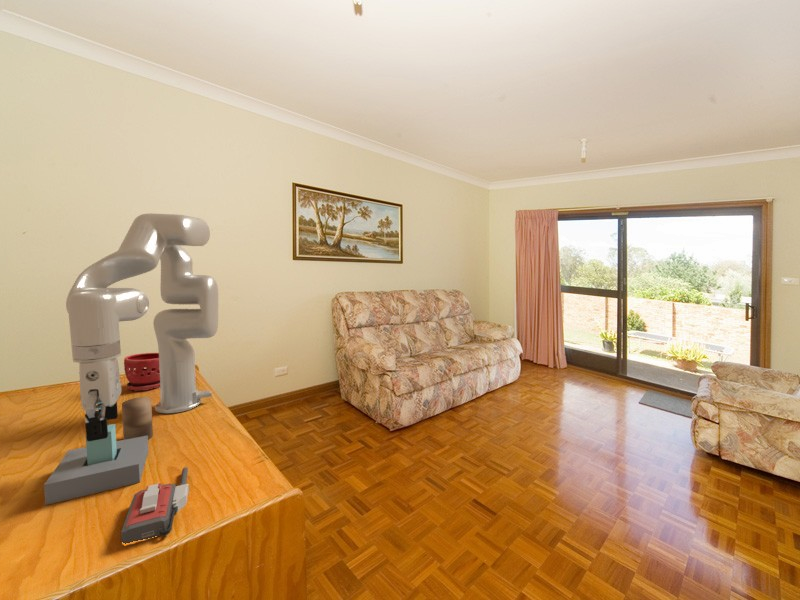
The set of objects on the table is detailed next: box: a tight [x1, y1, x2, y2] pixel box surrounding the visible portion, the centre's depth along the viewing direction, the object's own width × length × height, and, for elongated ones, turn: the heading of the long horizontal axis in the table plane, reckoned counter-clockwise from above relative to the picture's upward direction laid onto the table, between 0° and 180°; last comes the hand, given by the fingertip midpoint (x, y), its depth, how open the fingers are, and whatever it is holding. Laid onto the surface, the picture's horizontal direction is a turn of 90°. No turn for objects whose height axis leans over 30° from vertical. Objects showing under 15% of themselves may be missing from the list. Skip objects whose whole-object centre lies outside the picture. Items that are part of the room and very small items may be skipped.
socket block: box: [43, 435, 149, 506], centre depth 72 cm, size 14×14×4 cm
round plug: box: [121, 396, 154, 441], centre depth 88 cm, size 6×6×10 cm
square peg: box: [85, 423, 117, 465], centre depth 72 cm, size 4×4×10 cm
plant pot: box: [123, 352, 160, 392], centre depth 126 cm, size 13×13×12 cm
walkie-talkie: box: [120, 466, 190, 544], centre depth 63 cm, size 9×4×20 cm
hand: (103, 428), depth 72 cm, fingers open, 9 cm apart
